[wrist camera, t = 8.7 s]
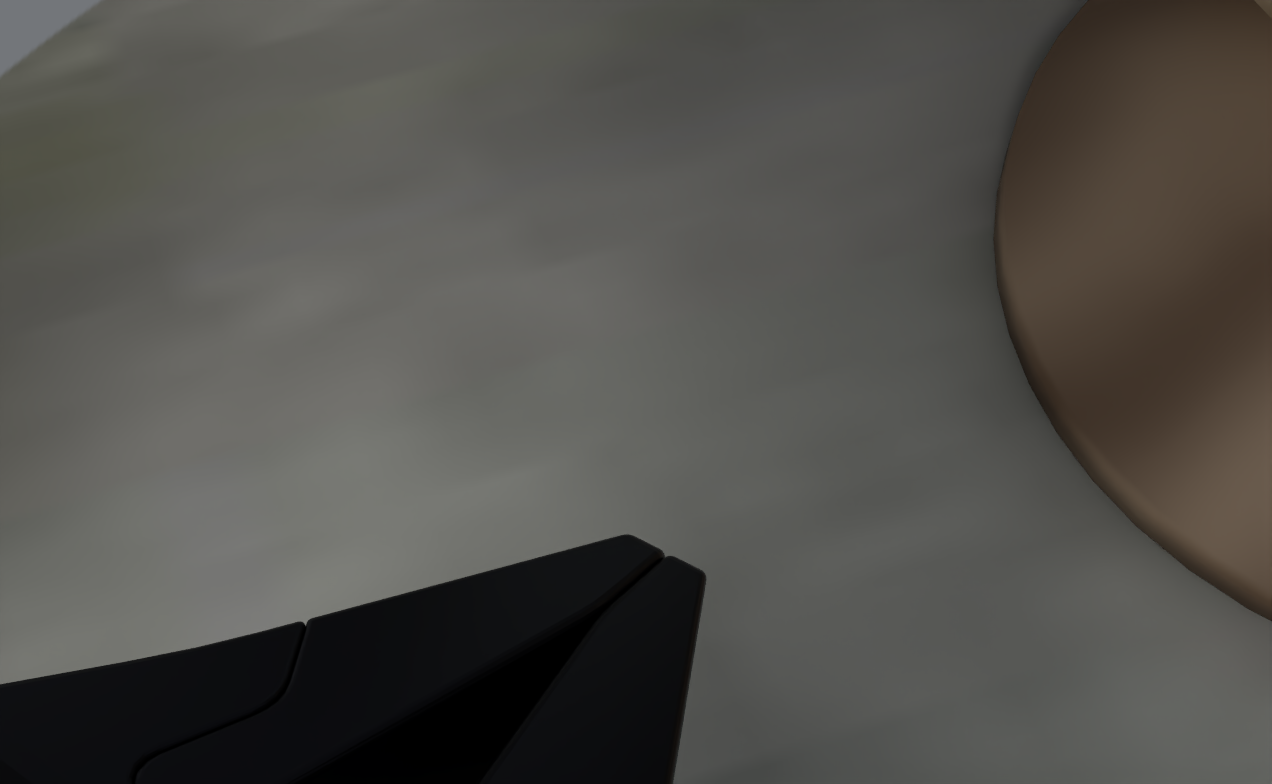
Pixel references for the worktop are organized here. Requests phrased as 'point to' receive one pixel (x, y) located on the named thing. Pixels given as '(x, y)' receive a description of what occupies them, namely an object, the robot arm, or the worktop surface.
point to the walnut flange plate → (1153, 270)
